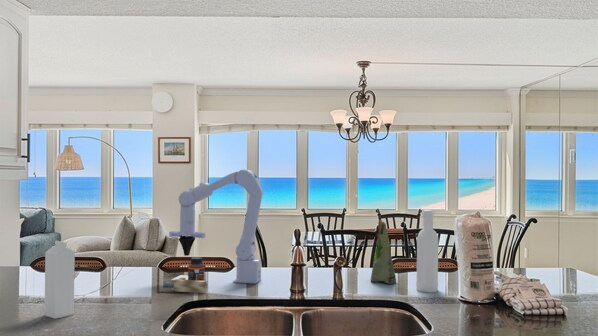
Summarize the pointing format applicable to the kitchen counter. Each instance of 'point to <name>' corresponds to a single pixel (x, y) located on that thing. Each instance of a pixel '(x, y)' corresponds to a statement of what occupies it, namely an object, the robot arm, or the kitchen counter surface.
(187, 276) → the mat
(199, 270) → the supplement bottle
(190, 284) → the corner holder
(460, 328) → the kitchen counter surface
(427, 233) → the bottle
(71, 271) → the milk
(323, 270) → the kitchen counter surface
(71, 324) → the kitchen counter surface
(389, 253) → the pouch
